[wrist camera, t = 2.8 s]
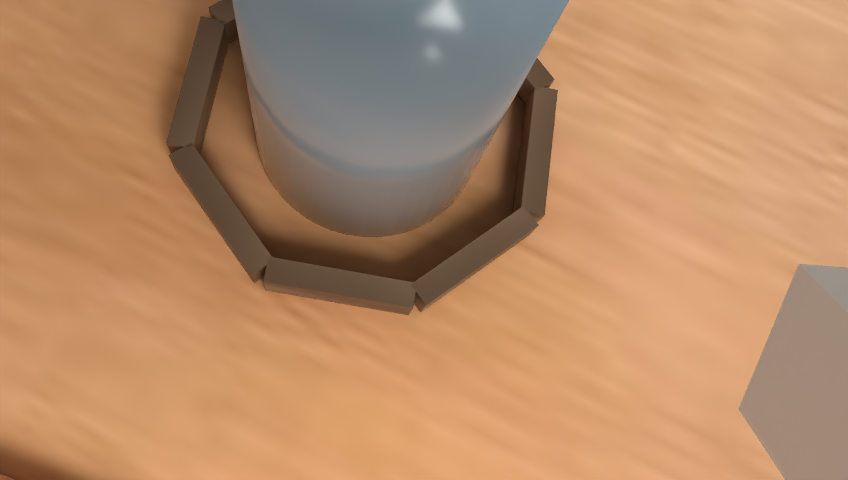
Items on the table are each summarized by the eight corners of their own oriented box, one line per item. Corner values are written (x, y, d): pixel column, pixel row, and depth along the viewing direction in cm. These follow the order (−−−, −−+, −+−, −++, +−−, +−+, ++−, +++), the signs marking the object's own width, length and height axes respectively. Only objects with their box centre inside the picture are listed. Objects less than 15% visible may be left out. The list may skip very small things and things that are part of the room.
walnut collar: (609, 177, 27) (623, 164, 26) (322, 382, 23) (323, 377, 22) (407, -76, 28) (411, -99, 27) (113, 80, 25) (103, 62, 24)
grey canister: (475, 245, 25) (609, 70, 14) (244, 227, 24) (185, 22, 13) (481, -7, 28) (597, -326, 17) (274, -33, 27) (247, -389, 16)
